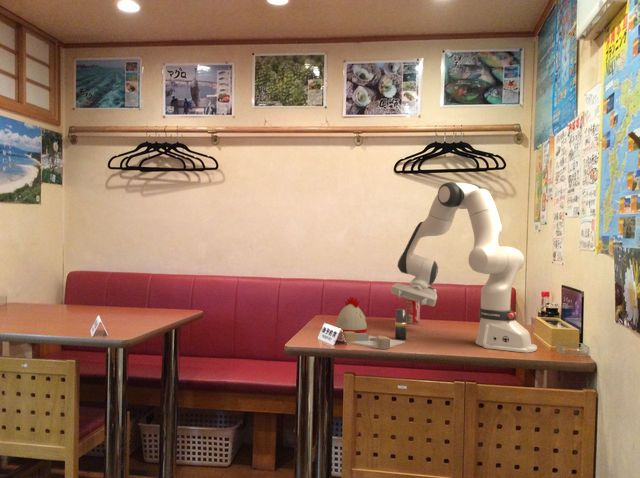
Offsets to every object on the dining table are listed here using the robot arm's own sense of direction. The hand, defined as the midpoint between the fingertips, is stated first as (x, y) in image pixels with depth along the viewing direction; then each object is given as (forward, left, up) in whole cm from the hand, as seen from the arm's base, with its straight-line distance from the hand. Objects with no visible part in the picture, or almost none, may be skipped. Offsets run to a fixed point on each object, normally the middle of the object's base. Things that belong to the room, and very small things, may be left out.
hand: (410, 299), depth 216 cm
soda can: (+13, -28, -15) cm, 34 cm away
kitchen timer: (+23, +11, -15) cm, 30 cm away
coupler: (-2, +12, -15) cm, 19 cm away
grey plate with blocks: (+4, +26, -15) cm, 30 cm away
